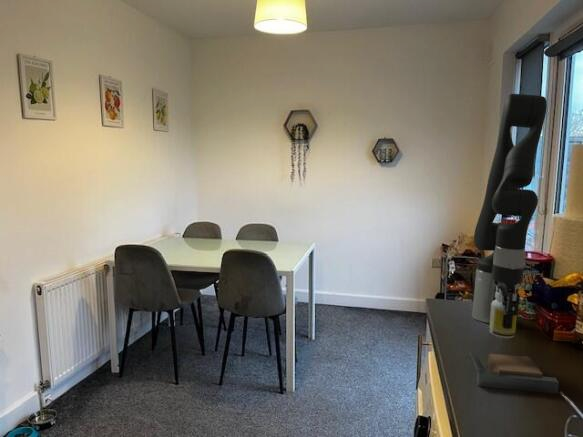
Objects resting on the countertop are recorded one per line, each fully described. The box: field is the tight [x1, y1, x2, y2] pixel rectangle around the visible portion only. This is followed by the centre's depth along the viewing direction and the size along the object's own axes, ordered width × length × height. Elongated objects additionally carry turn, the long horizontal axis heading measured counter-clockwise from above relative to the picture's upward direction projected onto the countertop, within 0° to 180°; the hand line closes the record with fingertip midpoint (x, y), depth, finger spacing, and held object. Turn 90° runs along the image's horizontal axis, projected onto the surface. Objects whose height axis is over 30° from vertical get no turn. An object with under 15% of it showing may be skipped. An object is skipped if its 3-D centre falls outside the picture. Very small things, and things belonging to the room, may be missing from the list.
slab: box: [487, 353, 544, 377], centre depth 113 cm, size 9×10×4 cm
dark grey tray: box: [469, 351, 560, 394], centre depth 114 cm, size 16×18×3 cm
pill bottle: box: [488, 292, 518, 339], centre depth 119 cm, size 6×6×12 cm
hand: (502, 322), depth 120 cm, fingers closed on pill bottle, 6 cm apart
